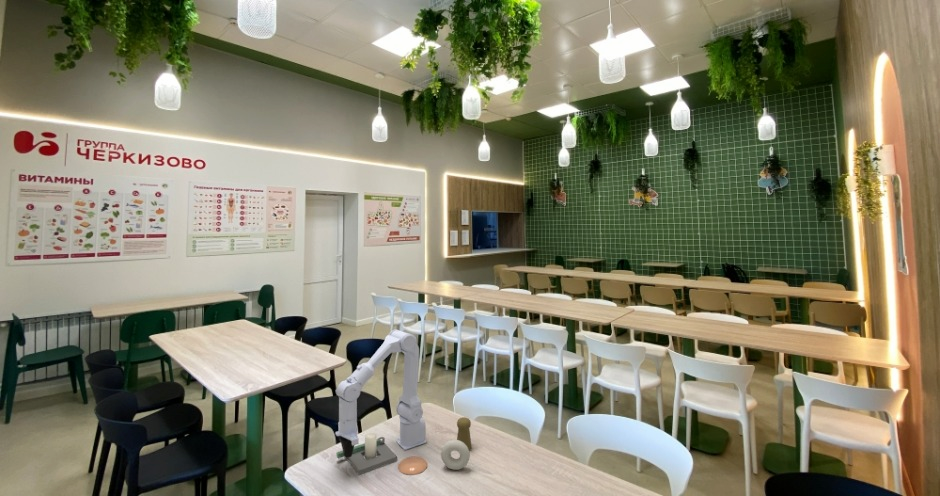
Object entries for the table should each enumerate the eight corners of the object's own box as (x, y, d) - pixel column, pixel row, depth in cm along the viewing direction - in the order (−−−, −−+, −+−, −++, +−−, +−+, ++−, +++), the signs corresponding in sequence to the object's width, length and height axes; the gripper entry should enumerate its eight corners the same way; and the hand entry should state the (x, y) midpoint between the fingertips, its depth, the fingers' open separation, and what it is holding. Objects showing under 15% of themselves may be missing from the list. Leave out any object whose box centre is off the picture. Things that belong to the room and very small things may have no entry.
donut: (470, 467, 133) (470, 438, 133) (468, 473, 130) (469, 444, 129) (441, 464, 134) (442, 436, 134) (439, 470, 131) (440, 441, 131)
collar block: (381, 443, 148) (381, 439, 148) (397, 460, 137) (397, 456, 137) (344, 455, 140) (344, 451, 139) (358, 475, 128) (358, 470, 128)
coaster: (418, 454, 141) (418, 453, 141) (432, 467, 132) (432, 466, 132) (393, 463, 135) (393, 462, 135) (406, 478, 127) (406, 477, 127)
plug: (373, 453, 141) (373, 432, 141) (378, 458, 138) (378, 436, 137) (363, 457, 138) (363, 435, 138) (367, 462, 135) (367, 440, 135)
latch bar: (383, 440, 147) (383, 436, 147) (385, 443, 145) (385, 439, 145) (336, 456, 136) (336, 451, 136) (338, 459, 134) (338, 454, 134)
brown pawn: (469, 453, 142) (470, 423, 141) (454, 451, 143) (454, 422, 142) (473, 444, 148) (473, 416, 147) (457, 442, 149) (457, 414, 148)
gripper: (329, 412, 133) (329, 450, 134) (343, 429, 122) (343, 471, 122) (349, 406, 138) (349, 444, 138) (364, 423, 126) (364, 463, 126)
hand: (347, 456), depth 130 cm, fingers closed
